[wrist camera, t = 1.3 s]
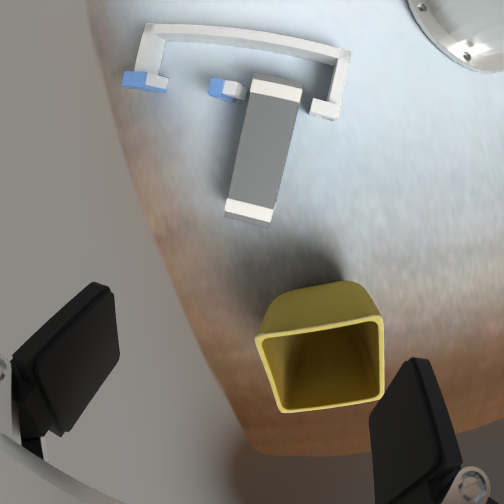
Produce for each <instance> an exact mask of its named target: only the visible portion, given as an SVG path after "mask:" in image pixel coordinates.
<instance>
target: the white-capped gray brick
mask: <svg viewBox="0 0 504 504" xmlns="http://www.w3.org/2000/svg"><path fill="white" fill-rule="evenodd" d="M302 91H303V82H299V81H294V80H290V79H285V78H281V77H276V76H271V75H266V74H261V73H255V75H254V79H253V80H252V84H251V88H250V97H249V101H248V105H247V110H246V114H245V119H244V123H243V128H242V132H241V137H240V141H239V146H238V151H237V156H236V160H235V165H234V170H233V175H232V180H231V185H230V189H229V194H228V198H227V200H226V206H225V215H224V217H226V218H230V219H234V220H238V221H242V222H246V223H250V224H253V225H257V226H261V227H265V228H268V227H269V224H270V221H271V218H272V215H273V212H274V209H275V205H276V201H277V195H278V190H279V186H280V182H281V178H282V174H283V170H284V166H285V162H286V158H287V154H288V150H289V146H290V141H291V137H292V133H293V129H294V125H295V121H296V116H297V112H298V108H299V106H300V103H301V98H302Z"/></svg>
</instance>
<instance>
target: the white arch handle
mask: <svg viewBox="0 0 504 504" xmlns="http://www.w3.org/2000/svg"><path fill="white" fill-rule="evenodd" d="M166 41H184V42H199V43H211V44H221V45H230V46H238V47H245V48H252V49H258V50H264V51H270V52H275V53H280V54H285V55H290V56H295V57H299V58H304V59H308V60H312V61H316V62H320V63H324V64H328V65H331V66H334V70H333V75H332V79H331V83H330V87H329V92H328V96H327V100H326V101H323V100H319V99H315V98H313V100H312V103H311V107H310V111H309V115H312V116H316V117H319V118H323V119H327V120H330V121H333V120H337V119H338V115H339V111H340V107H341V106H340V101H341V97H342V92H343V88H344V84H345V79H346V75H347V71H348V66H349V62H350V57H351V52H352V51H351V50H347V49H344V48H341V49H339V48H336V47H332V46H328V45H325V44H321V43H317V42H312V41H308V40H304V39H299V38H294V37H289V36H284V35H279V34H273V33H267V32H261V31H254V30H247V29H239V28H230V27H220V26H207V25H188V24H155V23H146V24H145V27H144V31H143V35H142V38H141V42H140V46H139V50H138V55H137V59H136V63H135V68H134V71H124V75H123V80H122V85H121V86H124V87H125V88H132V89H138V90H144V91H154V92H165V93H166V90H167V85H168V80H169V79H168V78H165V77H162V76H158V74H159V70H160V65H161V61H162V57H163V53H164V49H165V45H166ZM247 90H248V89H247V88H246V87H244V86H243V85H241V84H240V83H239V82H234V81H228V80H224V79H219V78H211V81H210V86H209V90H208V94H209V96H212V97H215V98H218V99H221V100H225V101H231V102H234V99H240V100H245V99H246V94H247Z"/></svg>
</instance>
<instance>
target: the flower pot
mask: <svg viewBox="0 0 504 504" xmlns="http://www.w3.org/2000/svg"><path fill="white" fill-rule="evenodd" d="M255 344H256V347H257V349H258V352H259V354H260V357H261V359H262V362H263V365H264V367H265V370H266V373H267V375H268V378H269V381H270V384H271V387H272V390H273V394H274V397H275V400H276V403H277V406H278V408H279V410H280V411H281V412H282V413H292V412H301V411H310V410H317V409H326V408H333V407H339V406H346V405H352V404H359V403H364V402H370V401H374V400H378V399H381V397H382V396H383V394H384V325H383V318H382V316H381V314H380V312H379V311H378V309H377V307H376V306H375V304H374V302H373V300H372V299H371V297H370V296H369V294H368V293H367V291H366V290H365V289H364V287H362V286H361V285H360V284H358V283H355V282H352V281H337V282H332V283H327V284H322V285H317V286H311V287H305V288H299V289H294V290H291V291H288V292H285V293H283V294H281V295H279V296H278V297H276V298H275V299H274V300H273V301H272V302H271V304H270V305H269V307H268V309H267V312H266V314H265V316H264V318H263V321H262V323H261V325H260V327H259V330H258V332H257V334H256V336H255Z"/></svg>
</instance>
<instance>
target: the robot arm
mask: <svg viewBox="0 0 504 504" xmlns="http://www.w3.org/2000/svg"><path fill="white" fill-rule="evenodd" d="M407 1H408V4H409V7H410V9H411V11H412V13H413V15H414V17H415V20H416V21H417V23H418V24H419V26H420V27H421V29H422V30H423V32H424V33H425V34H426V35H427V36H428V38H429V39H430V40H431V41H432V42H433V43H434V44H435V45H436V46H437V47H438V48H439V49H440V50H441V51H442V52H443V53H444V54H446V55H447V56H448V57H450V58H451V59H452V60H453V61H455V62H457V63H459V64H460V65H462V66H464V67H466V68H468V69H471V70H473V71H477V72H482V73H496V72H501V71H504V0H407ZM419 9H420V10H419ZM464 58H465V59H464ZM12 356H13V359H12V360H11V361H9V360H8V358H6V357H5V356H4V355H1V354H0V504H127V503H124V502H122V501H120V500H117V499H115V498H113V497H111V496H108V495H106V494H104V493H102V492H100V491H98V490H96V489H94V488H92V487H90V486H88V485H86V484H84V483H82V482H80V481H78V480H76V479H75V478H73V477H71V476H69V475H67V474H66V473H64V472H62V471H60V470H59V469H57V468H55V467H53V466H52V465H50V464H49V460H48V455H47V449H46V443H45V434H46V433H47V431H48V430H49V431H51V432H53V433H54V434H56V435H58V436H59V437H62V435H63V434H64V432H69V431H70V430H71V429H72V427H73V426H74V424H75V423H76V421H77V420H78V419H79V417H80V416H81V414H82V413H83V411H84V410H85V408H86V407H87V405H88V404H89V402H90V401H91V399H92V398H93V397H94V395H95V394H96V392H97V391H98V389H99V388H100V386H101V385H102V384H103V382H104V381H105V379H106V378H107V377H108V375H109V374H110V372H111V371H112V370H113V368H114V367H115V365H116V364H117V362H118V360H119V356H120V351H119V344H118V334H117V325H116V314H115V302H114V294H113V293H112V292H111V291H110V288H109V287H108V286H105V285H102V284H99V283H96V282H92V283H90V284H89V285H88V286H87V287H85V288H84V289H83V290H82V291H81V292H80V293H78V294H77V295H76V296H75V297H74V298H73V299H72V300H70V301H69V302H68V303H67V304H66V305H65V306H64V307H63V308H61V309H60V310H59V311H58V312H57V313H56V314H55V315H54V316H53V317H52V318H50V319H49V320H48V321H47V322H46V323H45V324H44V325H43V326H42V327H41V328H40V329H39V330H38V331H37V332H36V333H34V334H33V335H32V336H31V337H30V338H29V339H28V340H27V341H26V342H25V343H24V344H23V345H22V346H21V347H20V348H19V349H18V350H17V351H16V352H15V353H14V354H13V355H12ZM369 429H370V439H371V449H372V460H373V473H374V486H375V487H374V488H375V504H498V503H497V502H495V501H494V500H493V499H491V498H490V497H489V493H490V483H489V480H488V478H487V476H486V474H485V473H484V472H483V471H482V470H480V469H478V468H476V467H470V466H469V467H465V468H463V469H461V464H462V463H463V461H462V457H461V453H460V450H459V446H458V443H457V439H456V436H455V433H454V429H453V426H452V423H451V420H450V417H449V414H448V411H447V408H446V405H445V402H444V399H443V396H442V393H441V390H440V388H439V385H438V382H437V380H436V377H435V374H434V372H433V369H432V366H431V364H430V362H429V360H427V359H422V358H415V357H412V358H410V359H409V360H408V361H405V362H404V363H403V364H402V366H401V368H400V369H399V371H398V373H397V374H396V376H395V377H394V379H393V381H392V382H391V384H390V385H389V387H388V388H387V390H386V391H385V393H384V394H383V396H382V397H381V399H380V400H379V402H378V403H377V405H376V406H375V408H374V409H373V411H372V412H371V414H370V417H369Z"/></svg>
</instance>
